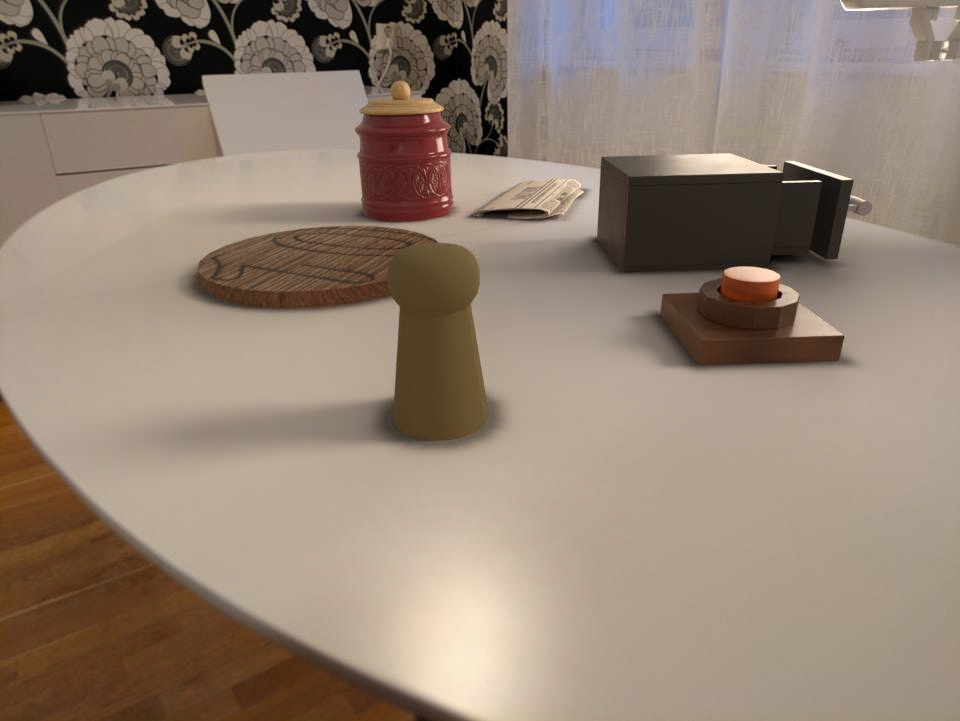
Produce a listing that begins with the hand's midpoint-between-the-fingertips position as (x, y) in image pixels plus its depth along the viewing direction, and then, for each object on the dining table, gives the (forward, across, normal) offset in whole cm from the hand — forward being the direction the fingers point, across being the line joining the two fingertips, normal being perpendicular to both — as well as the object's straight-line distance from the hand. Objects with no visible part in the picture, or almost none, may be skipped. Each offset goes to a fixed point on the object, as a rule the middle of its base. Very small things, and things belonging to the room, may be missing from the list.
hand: (935, 60), depth 66 cm
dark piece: (+18, +14, 0) cm, 23 cm away
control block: (+19, +26, +24) cm, 40 cm away
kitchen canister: (+19, +55, -25) cm, 63 cm away
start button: (+16, +26, +24) cm, 39 cm away
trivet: (+19, +62, +2) cm, 65 cm away
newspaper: (+19, +36, -29) cm, 50 cm away
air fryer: (+19, +24, 0) cm, 31 cm away
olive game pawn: (+19, +49, +35) cm, 63 cm away
